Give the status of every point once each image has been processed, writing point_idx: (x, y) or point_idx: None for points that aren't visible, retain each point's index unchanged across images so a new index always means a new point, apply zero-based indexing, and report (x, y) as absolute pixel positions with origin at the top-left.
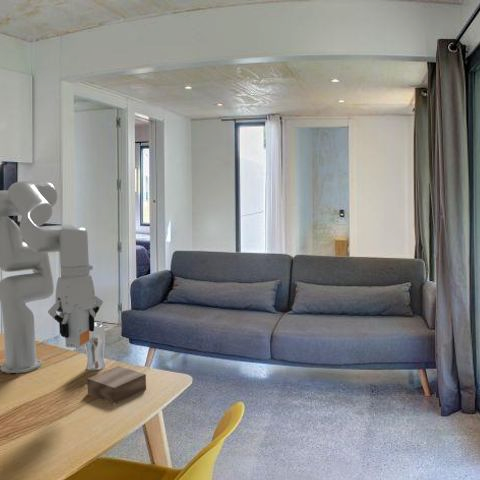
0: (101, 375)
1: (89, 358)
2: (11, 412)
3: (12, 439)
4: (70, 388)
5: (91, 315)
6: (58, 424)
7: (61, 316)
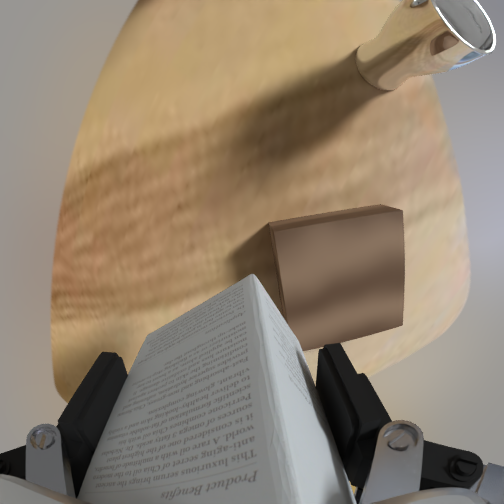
0: (322, 242)
1: (375, 55)
2: (75, 192)
3: (61, 318)
4: (249, 146)
5: (357, 488)
6: (139, 330)
7: (49, 478)
